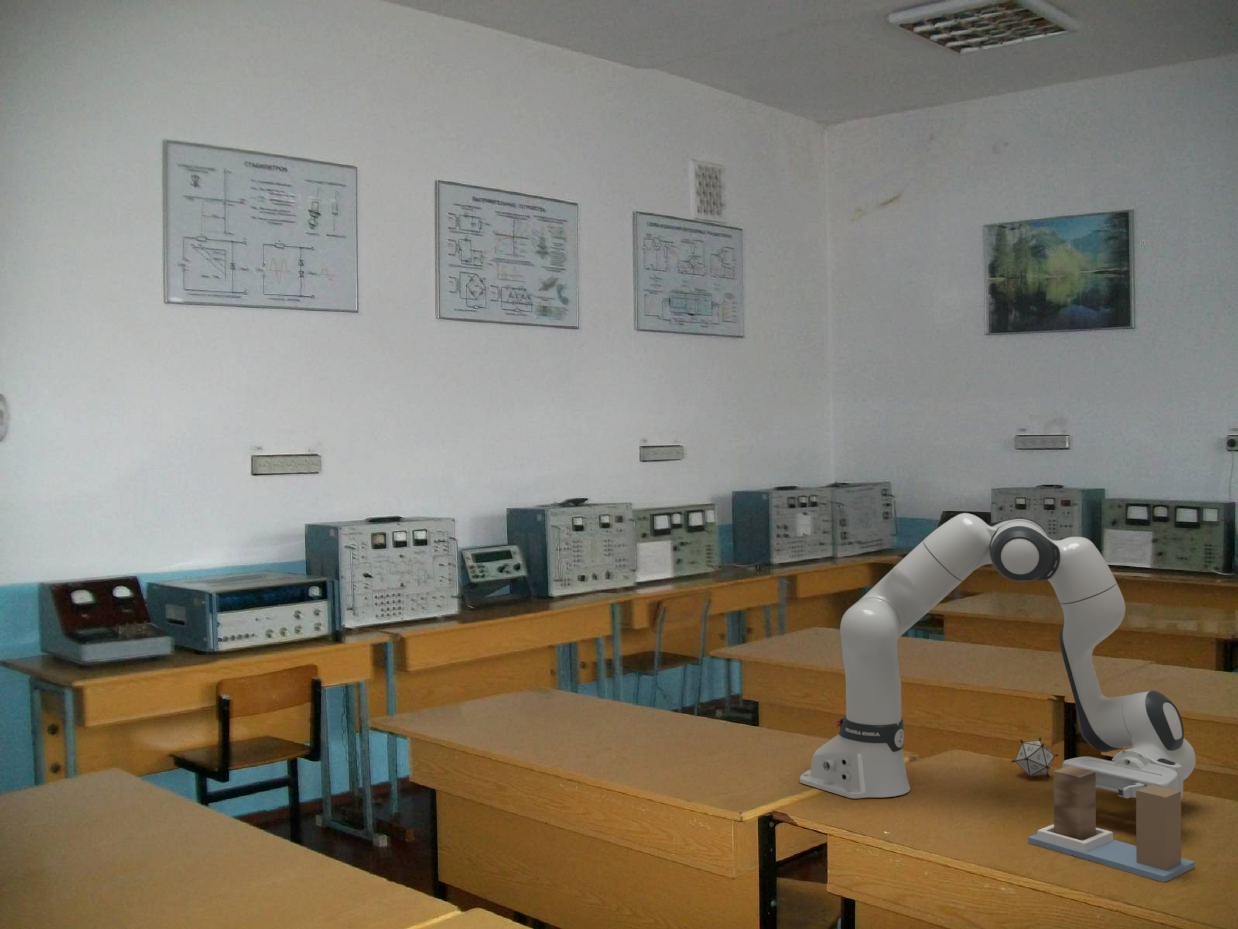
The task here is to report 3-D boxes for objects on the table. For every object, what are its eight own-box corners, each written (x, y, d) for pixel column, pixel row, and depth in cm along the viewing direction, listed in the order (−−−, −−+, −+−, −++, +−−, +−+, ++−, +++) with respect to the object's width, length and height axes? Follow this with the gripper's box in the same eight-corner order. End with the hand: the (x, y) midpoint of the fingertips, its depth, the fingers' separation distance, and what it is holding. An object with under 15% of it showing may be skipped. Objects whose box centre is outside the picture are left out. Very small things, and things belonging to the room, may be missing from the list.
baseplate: (1028, 843, 210) (1027, 769, 210) (1059, 830, 216) (1059, 759, 216) (1164, 882, 191) (1164, 802, 191) (1194, 867, 197) (1194, 789, 197)
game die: (1026, 795, 250) (996, 756, 251) (1042, 772, 256) (1012, 735, 257) (1058, 783, 243) (1027, 743, 245) (1073, 760, 249) (1043, 722, 250)
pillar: (1053, 839, 209) (1053, 771, 209) (1069, 833, 212) (1069, 766, 212) (1080, 846, 205) (1080, 777, 205) (1095, 840, 208) (1095, 771, 208)
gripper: (1084, 745, 229) (1044, 758, 221) (1190, 766, 213) (1151, 781, 205) (1085, 777, 229) (1044, 791, 221) (1191, 802, 213) (1151, 818, 205)
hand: (1096, 787), depth 213 cm, fingers open, 8 cm apart
